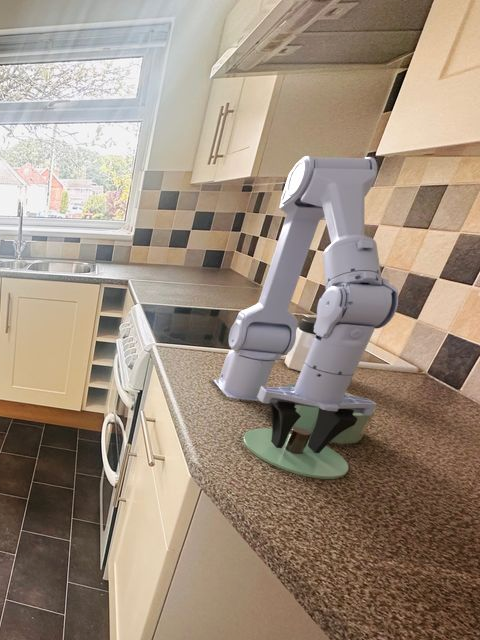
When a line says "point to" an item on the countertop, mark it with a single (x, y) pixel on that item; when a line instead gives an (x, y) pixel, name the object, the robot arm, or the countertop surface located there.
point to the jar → (301, 344)
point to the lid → (296, 454)
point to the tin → (347, 436)
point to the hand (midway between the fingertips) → (294, 447)
